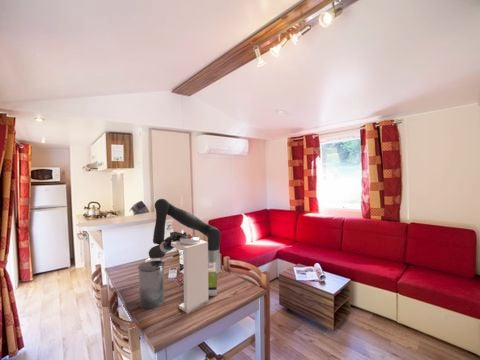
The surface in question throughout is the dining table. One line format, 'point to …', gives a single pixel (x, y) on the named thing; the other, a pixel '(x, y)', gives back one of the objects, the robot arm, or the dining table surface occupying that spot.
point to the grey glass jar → (151, 284)
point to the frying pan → (159, 259)
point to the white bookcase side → (194, 275)
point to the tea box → (212, 279)
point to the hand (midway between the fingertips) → (180, 234)
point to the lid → (186, 238)
